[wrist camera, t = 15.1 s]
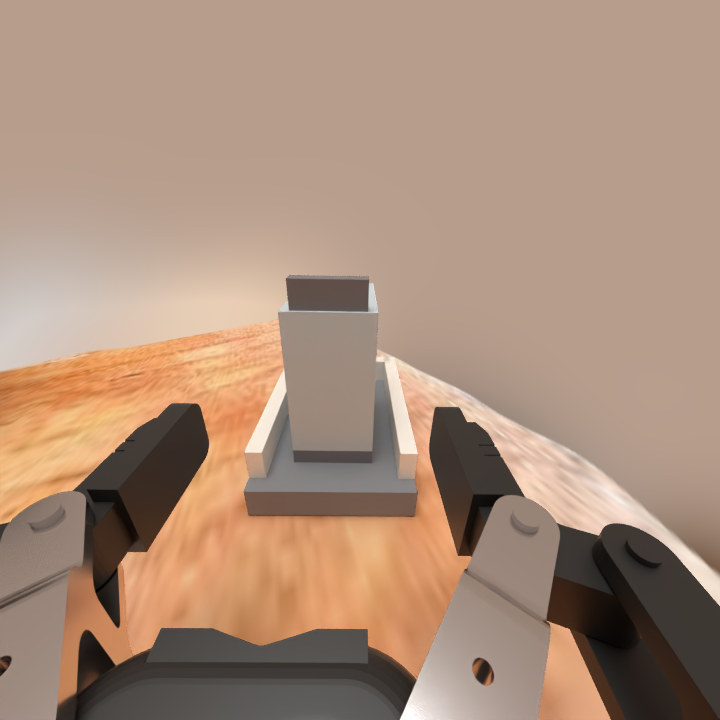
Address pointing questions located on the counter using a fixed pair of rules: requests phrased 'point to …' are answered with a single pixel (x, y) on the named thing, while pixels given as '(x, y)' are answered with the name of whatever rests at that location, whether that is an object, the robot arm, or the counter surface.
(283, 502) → the tray
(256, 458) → the tray
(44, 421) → the counter surface
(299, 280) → the tall grey block
